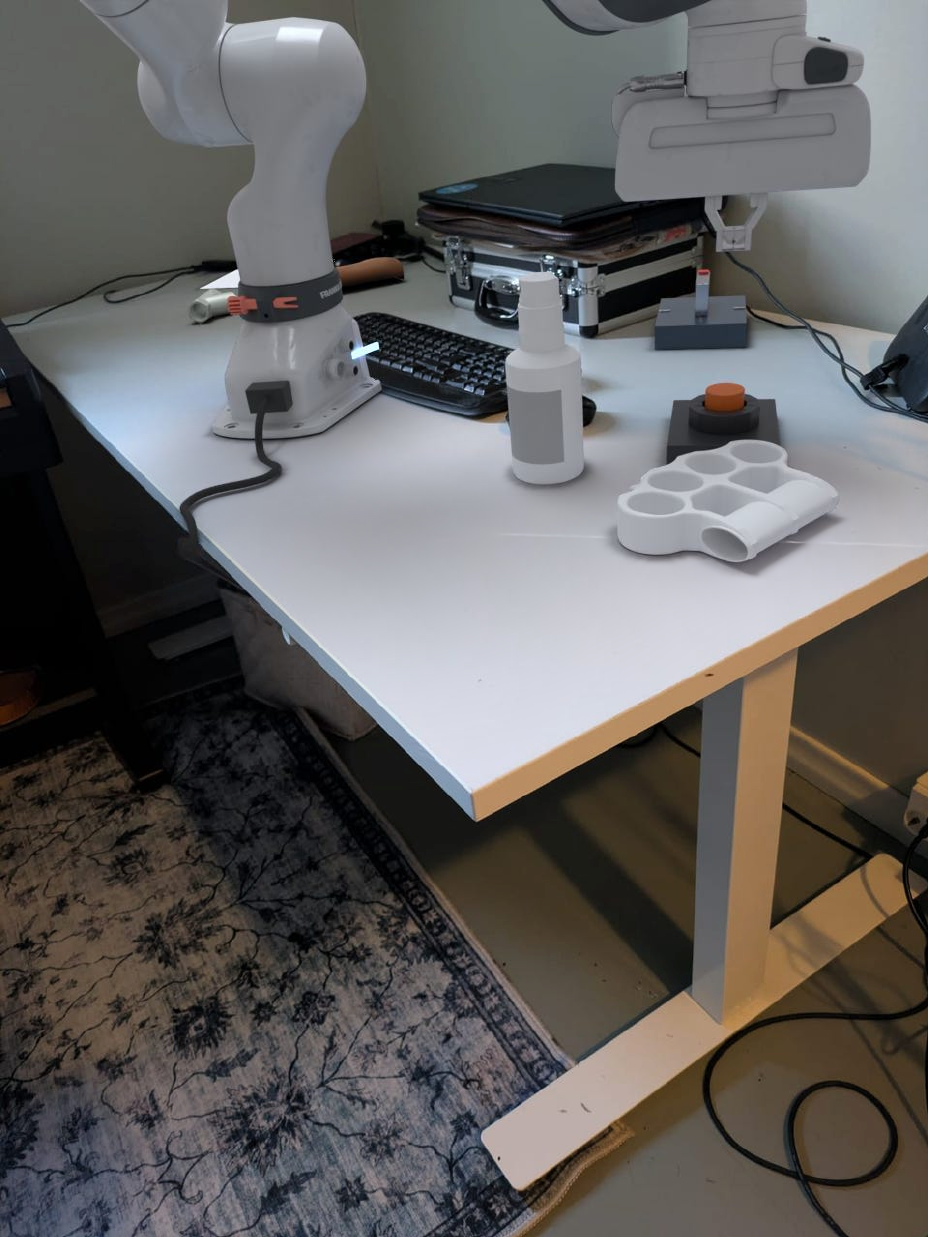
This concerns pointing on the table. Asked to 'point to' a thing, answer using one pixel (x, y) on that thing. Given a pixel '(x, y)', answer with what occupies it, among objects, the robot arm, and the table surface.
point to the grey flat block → (701, 324)
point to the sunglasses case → (370, 271)
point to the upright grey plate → (702, 293)
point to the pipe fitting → (209, 305)
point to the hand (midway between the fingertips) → (733, 249)
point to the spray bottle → (544, 388)
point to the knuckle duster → (721, 502)
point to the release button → (724, 397)
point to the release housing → (719, 425)
